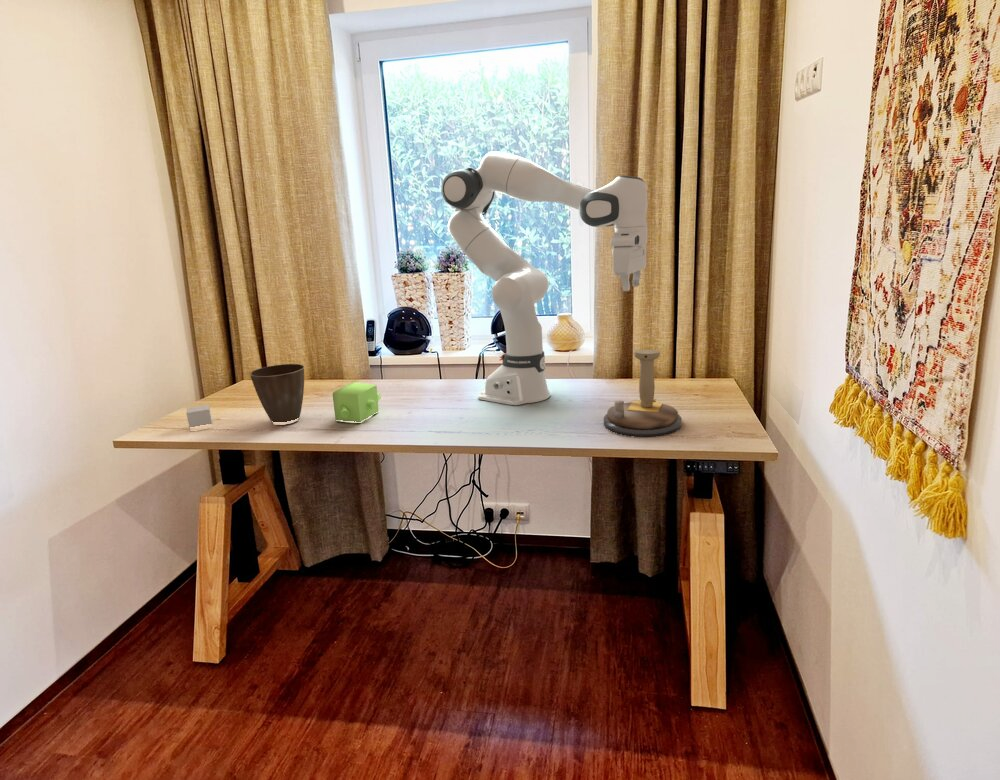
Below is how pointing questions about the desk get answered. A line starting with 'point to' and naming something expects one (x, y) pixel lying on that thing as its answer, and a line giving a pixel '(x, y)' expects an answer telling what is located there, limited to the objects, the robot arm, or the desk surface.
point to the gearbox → (355, 402)
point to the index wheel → (642, 415)
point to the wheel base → (643, 432)
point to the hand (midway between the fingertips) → (631, 288)
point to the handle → (646, 375)
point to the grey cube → (199, 415)
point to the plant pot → (280, 390)
